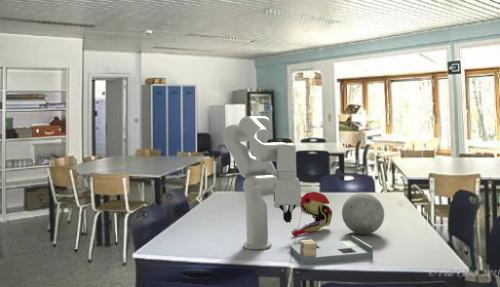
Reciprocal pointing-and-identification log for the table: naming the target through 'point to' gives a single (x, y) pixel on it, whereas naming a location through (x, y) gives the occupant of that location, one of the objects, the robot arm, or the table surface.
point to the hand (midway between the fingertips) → (287, 221)
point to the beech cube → (308, 247)
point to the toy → (314, 212)
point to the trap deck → (336, 251)
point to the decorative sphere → (363, 213)
